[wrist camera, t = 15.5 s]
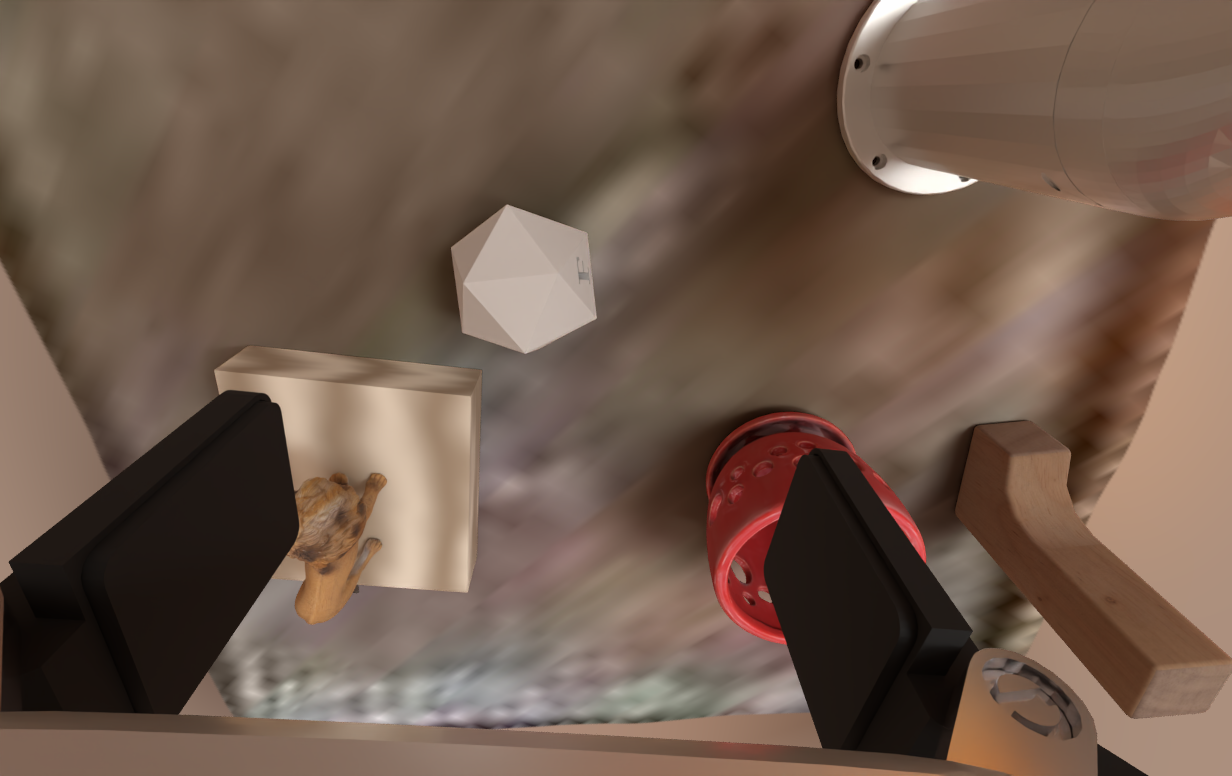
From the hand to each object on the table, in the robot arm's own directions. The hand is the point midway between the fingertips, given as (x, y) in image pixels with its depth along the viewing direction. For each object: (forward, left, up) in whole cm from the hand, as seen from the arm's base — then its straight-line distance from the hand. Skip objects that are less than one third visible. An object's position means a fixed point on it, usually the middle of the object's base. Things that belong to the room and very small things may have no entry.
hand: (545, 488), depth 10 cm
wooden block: (-35, +16, -28) cm, 48 cm away
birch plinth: (+14, +21, -28) cm, 38 cm away
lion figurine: (+14, +22, -24) cm, 36 cm away
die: (+3, +4, -28) cm, 29 cm away
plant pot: (-17, +18, -28) cm, 38 cm away
